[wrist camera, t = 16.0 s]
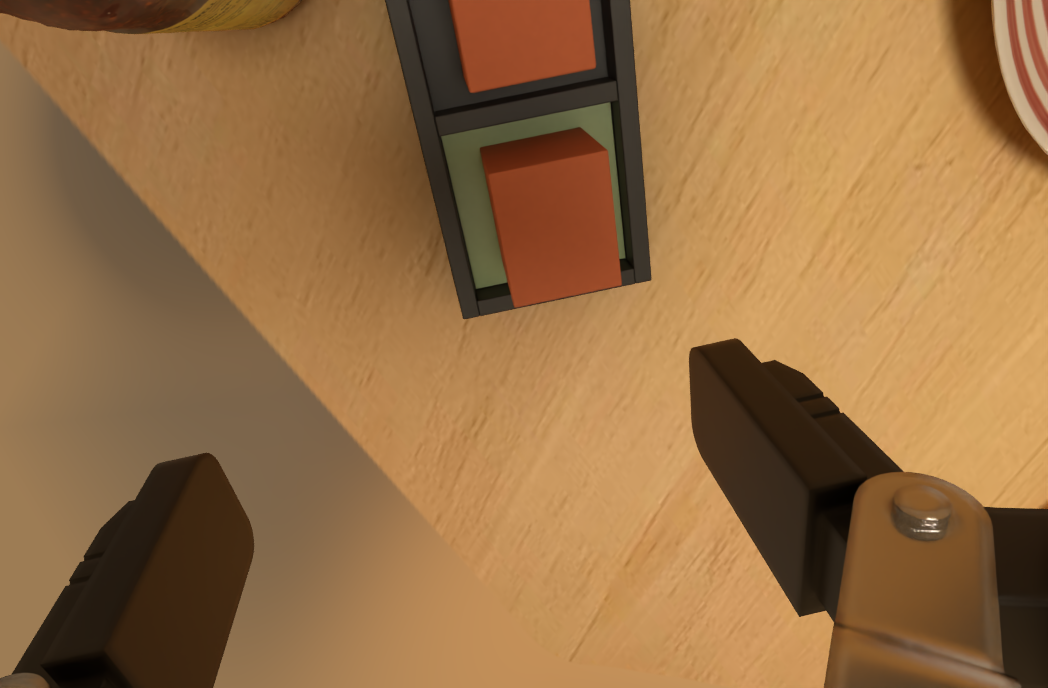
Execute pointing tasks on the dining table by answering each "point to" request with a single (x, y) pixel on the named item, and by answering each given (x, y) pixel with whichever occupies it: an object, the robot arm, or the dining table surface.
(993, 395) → the dining table surface
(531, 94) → the pad holder
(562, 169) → the orange block
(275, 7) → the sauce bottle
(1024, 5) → the dinner plate
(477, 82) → the orange rectangular block
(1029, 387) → the dining table surface
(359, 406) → the dining table surface
